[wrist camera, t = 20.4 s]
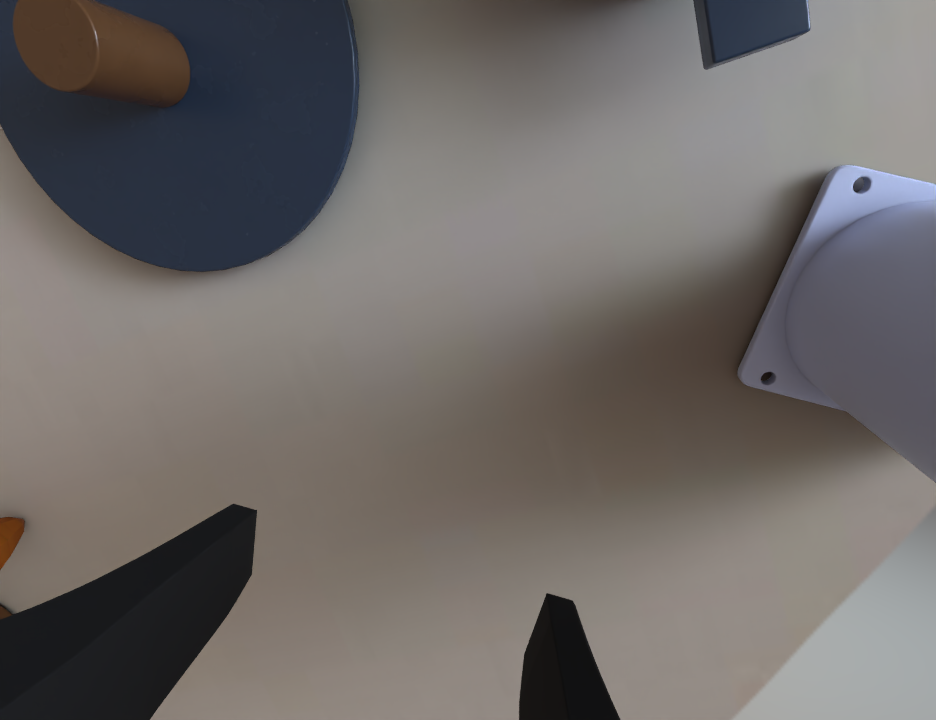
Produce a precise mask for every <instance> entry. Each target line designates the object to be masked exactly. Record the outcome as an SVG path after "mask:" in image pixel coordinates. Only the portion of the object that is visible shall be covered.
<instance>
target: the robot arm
mask: <svg viewBox="0 0 936 720" xmlns="http://www.w3.org/2000/svg"><path fill="white" fill-rule="evenodd" d="M860 177H861V178H863V180H864V186H863V188H862V189H861V190H860V191H858V192H854V190H853V183H854V182H855V181H856V179H858V178H860ZM766 372H772V375H771V377H770V378H769V379H768V380H766V381H761V376H762V375H763V374H764V373H766ZM737 374H738V378H739V379H740V380H741V381H742V382H743V383H744V384H745V385H747V386H749V387H753V388H757V389H761V390H765V391H769V392H773V393H777V394H781V395H784V396H788V397H792V398H796V399H800V400H804V401H808V402H812V403H816V404H819V405H823V406H827V407H831V408H835V409H839V410H843V411H847V412H848V413H849V414H850V415H852V416H853V417H854V418H855V419H857V420H858V421H859V422H860V423H862V424H863V425H864V426H865V427H867V428H868V429H869V430H870V431H872V432H873V433H874V434H875V435H877V436H878V437H879V438H880V439H882V440H883V441H884V442H885V443H887V444H888V445H889V446H890V447H892V448H893V449H894V450H895V451H897V452H898V453H899V454H900V455H902V456H903V457H904V458H905V459H907V460H908V461H909V462H910V463H912V464H913V465H914V466H915V467H916V468H918V469H919V470H920V471H921V472H923V473H924V474H925V475H926V476H928V477H929V478H930V479H931V480H933V481H934V482H935V483H936V184H932V183H928V182H924V181H919V180H915V179H911V178H906V177H902V176H898V175H893V174H889V173H885V172H880V171H876V170H872V169H867V168H863V167H859V166H854V165H841V166H838V167H835V168H834V169H832V170H831V171H830V172H829V173H828V175H827V176H826V177H825V180H824V182H823V184H822V186H821V188H820V191H819V193H818V195H817V197H816V199H815V201H814V204H813V206H812V208H811V210H810V212H809V215H808V217H807V219H806V221H805V223H804V226H803V228H802V230H801V232H800V234H799V237H798V239H797V241H796V243H795V245H794V248H793V250H792V252H791V254H790V256H789V258H788V261H787V263H786V265H785V267H784V269H783V272H782V274H781V276H780V278H779V280H778V283H777V285H776V287H775V289H774V291H773V294H772V296H771V298H770V300H769V302H768V304H767V307H766V309H765V311H764V313H763V315H762V318H761V320H760V322H759V324H758V326H757V329H756V331H755V333H754V335H753V337H752V340H751V342H750V344H749V346H748V348H747V351H746V353H745V355H744V357H743V359H742V361H741V364H740V366H739V368H738V372H737ZM256 517H257V510H254V509H250V508H247V507H243V506H240V505H236V504H232V505H230V506H228V507H227V508H225V509H223V510H221V511H220V512H218V513H216V514H214V515H213V516H211V517H209V518H207V519H206V520H204V521H202V522H201V523H199V524H197V525H196V526H194V527H192V528H190V529H189V530H187V531H185V532H184V533H182V534H180V535H178V536H177V537H175V538H173V539H171V540H169V541H168V542H166V543H164V544H162V545H161V546H159V547H157V548H155V549H153V550H152V551H150V552H148V553H146V554H144V555H143V556H141V557H139V558H137V559H135V560H133V561H131V562H129V563H127V564H125V565H123V566H121V567H119V568H117V569H115V570H113V571H112V572H110V573H108V574H106V575H104V576H102V577H100V578H98V579H96V580H94V581H92V582H89V583H87V584H85V585H83V586H81V587H79V588H77V589H74V590H72V591H70V592H68V593H65V594H63V595H61V596H58V597H56V598H54V599H51V600H49V601H47V602H44V603H42V604H40V605H37V606H35V607H32V608H30V609H27V610H24V611H22V612H19V613H16V614H14V615H11V616H8V617H6V618H3V619H0V720H150V719H151V717H152V716H153V714H154V713H155V712H156V710H157V709H158V707H159V706H160V704H161V703H162V702H163V701H164V699H165V698H166V697H167V695H168V694H169V693H170V691H171V690H172V689H173V687H174V686H175V685H176V683H177V682H178V681H179V679H180V678H181V677H182V675H183V674H184V673H185V671H186V670H187V669H188V667H189V666H190V665H191V663H192V662H193V661H194V659H195V658H196V657H197V656H198V654H199V653H200V652H201V650H202V649H203V648H204V646H205V645H206V644H207V642H208V641H209V640H210V638H211V637H212V636H213V634H214V633H215V632H216V630H217V629H218V628H219V626H220V625H221V623H222V622H223V621H224V619H225V618H226V617H227V615H228V614H229V612H230V610H231V609H232V607H233V606H234V604H235V602H236V601H237V599H238V597H239V596H240V594H241V592H242V590H243V589H244V587H245V585H246V583H247V582H248V580H249V578H250V577H251V575H252V566H253V553H254V541H255V529H256ZM519 720H620V718H619V716H618V713H617V711H616V709H615V707H614V705H613V702H612V700H611V698H610V695H609V693H608V691H607V688H606V686H605V684H604V681H603V679H602V677H601V674H600V672H599V669H598V667H597V664H596V662H595V659H594V657H593V654H592V652H591V649H590V646H589V644H588V641H587V638H586V635H585V633H584V630H583V627H582V624H581V621H580V618H579V615H578V612H577V609H576V606H575V604H574V602H573V601H572V600H569V599H565V598H562V597H558V596H555V595H551V594H548V593H547V594H546V597H545V600H544V602H543V605H542V608H541V610H540V613H539V616H538V618H537V621H536V624H535V627H534V629H533V632H532V635H531V637H530V640H529V643H528V645H527V648H526V651H525V654H524V661H523V671H522V680H521V690H520V701H519Z"/></svg>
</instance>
